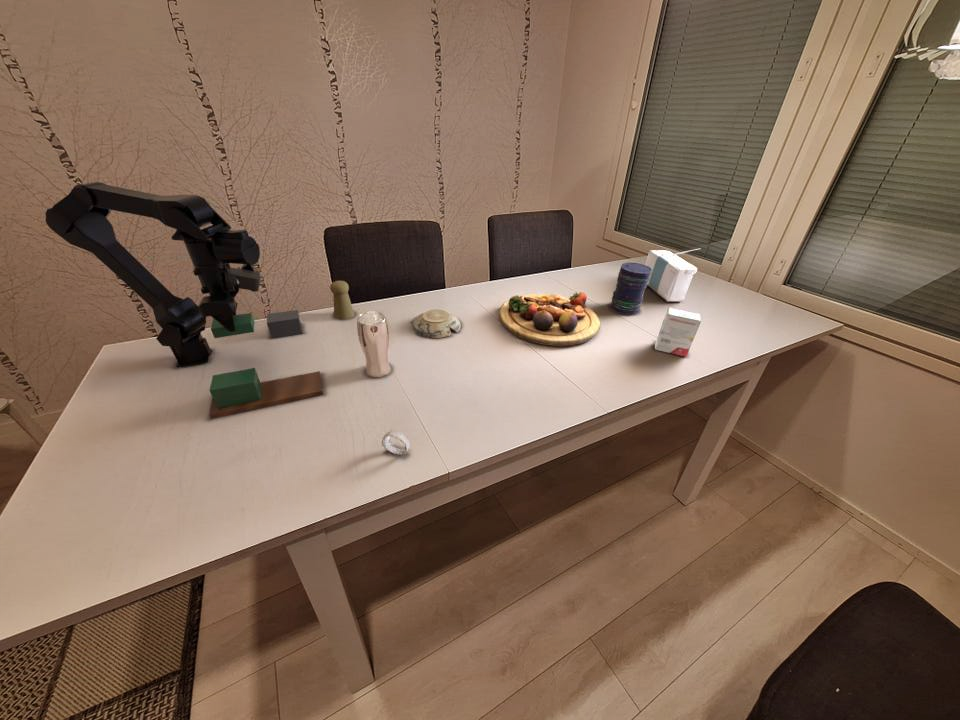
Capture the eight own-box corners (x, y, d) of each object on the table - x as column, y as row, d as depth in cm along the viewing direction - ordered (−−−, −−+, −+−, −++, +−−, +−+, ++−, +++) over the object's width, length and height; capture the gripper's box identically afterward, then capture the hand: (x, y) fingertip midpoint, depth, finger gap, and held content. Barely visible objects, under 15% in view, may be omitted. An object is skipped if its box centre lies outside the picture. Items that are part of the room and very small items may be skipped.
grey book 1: (269, 330, 102) (266, 322, 100) (269, 321, 106) (267, 313, 104) (300, 326, 105) (298, 318, 103) (299, 317, 109) (297, 309, 107)
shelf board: (210, 418, 77) (208, 414, 76) (215, 395, 83) (213, 391, 82) (323, 394, 85) (322, 390, 84) (320, 375, 91) (319, 371, 90)
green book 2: (218, 408, 77) (213, 399, 76) (221, 392, 82) (217, 384, 80) (260, 400, 80) (257, 391, 79) (261, 385, 85) (258, 376, 83)
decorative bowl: (426, 311, 121) (402, 331, 110) (426, 300, 119) (401, 319, 108) (468, 321, 117) (447, 343, 105) (468, 310, 115) (447, 332, 103)
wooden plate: (567, 296, 136) (571, 274, 132) (619, 339, 112) (627, 315, 107) (485, 304, 127) (487, 282, 122) (523, 354, 102) (526, 328, 98)
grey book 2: (271, 338, 103) (269, 330, 102) (271, 329, 107) (269, 321, 106) (302, 333, 106) (300, 326, 105) (301, 324, 110) (299, 317, 109)
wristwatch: (389, 443, 73) (386, 425, 71) (412, 450, 72) (410, 431, 69) (382, 454, 71) (379, 436, 68) (405, 461, 70) (403, 442, 67)
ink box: (686, 349, 109) (701, 313, 102) (686, 357, 105) (702, 321, 98) (655, 341, 112) (668, 306, 105) (654, 349, 108) (667, 313, 101)
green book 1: (213, 399, 76) (209, 390, 75) (217, 384, 80) (212, 374, 79) (257, 391, 79) (253, 381, 78) (258, 376, 83) (255, 367, 82)
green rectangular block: (214, 338, 84) (210, 329, 83) (216, 327, 88) (213, 318, 87) (254, 332, 87) (250, 322, 86) (254, 321, 91) (251, 312, 90)
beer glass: (367, 381, 89) (359, 327, 81) (361, 366, 94) (352, 313, 86) (396, 374, 92) (390, 321, 84) (388, 360, 97) (382, 308, 89)
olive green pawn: (348, 320, 113) (342, 287, 107) (330, 318, 114) (323, 284, 108) (357, 312, 118) (352, 279, 112) (340, 309, 119) (334, 277, 113)
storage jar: (641, 307, 131) (655, 266, 123) (635, 317, 124) (648, 275, 116) (614, 300, 135) (624, 260, 127) (606, 309, 128) (617, 268, 120)
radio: (638, 281, 152) (654, 231, 141) (657, 281, 153) (674, 232, 142) (665, 303, 135) (684, 249, 124) (685, 303, 136) (707, 249, 125)
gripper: (250, 271, 75) (272, 337, 83) (252, 244, 88) (270, 303, 97) (184, 278, 70) (214, 347, 79) (197, 249, 84) (221, 310, 93)
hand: (233, 325), depth 87 cm, fingers closed on green rectangular block, 5 cm apart
